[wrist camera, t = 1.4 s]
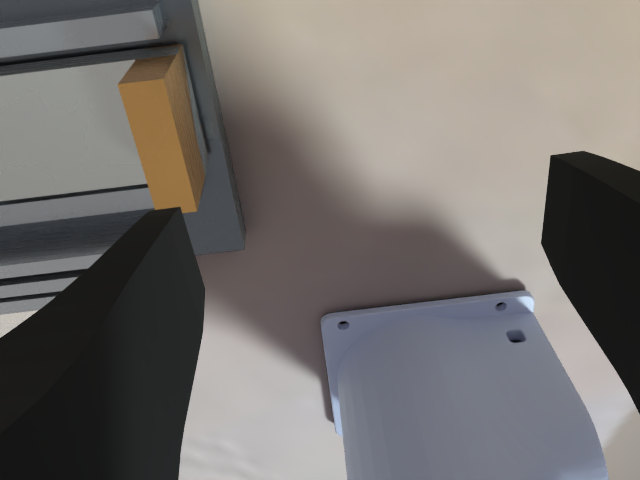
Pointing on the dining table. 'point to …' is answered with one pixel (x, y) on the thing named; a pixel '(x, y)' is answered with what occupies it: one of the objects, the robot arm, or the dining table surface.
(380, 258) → the dining table surface
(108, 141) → the grey orange block
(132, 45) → the heatsink plate
